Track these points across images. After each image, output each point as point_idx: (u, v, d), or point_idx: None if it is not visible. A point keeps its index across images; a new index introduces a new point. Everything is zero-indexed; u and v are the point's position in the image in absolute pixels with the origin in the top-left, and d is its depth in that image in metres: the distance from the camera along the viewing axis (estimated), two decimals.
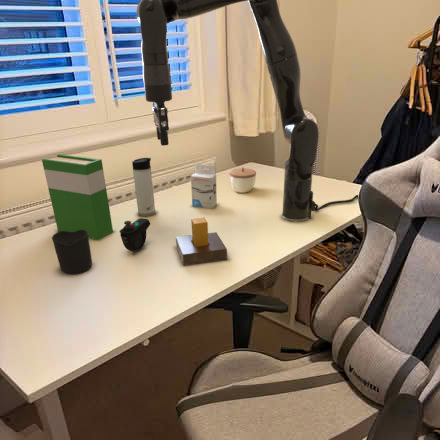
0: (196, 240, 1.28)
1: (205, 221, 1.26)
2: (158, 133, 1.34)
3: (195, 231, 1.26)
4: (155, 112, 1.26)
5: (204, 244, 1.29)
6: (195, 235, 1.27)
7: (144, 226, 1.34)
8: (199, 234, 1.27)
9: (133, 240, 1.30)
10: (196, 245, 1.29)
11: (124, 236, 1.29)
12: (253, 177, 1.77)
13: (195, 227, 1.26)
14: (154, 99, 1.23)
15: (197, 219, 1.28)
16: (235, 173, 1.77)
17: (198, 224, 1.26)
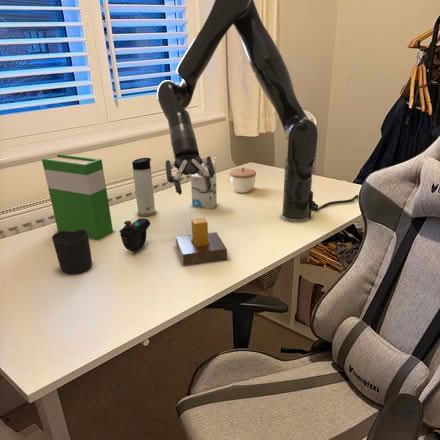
0: (196, 240, 1.28)
1: (205, 221, 1.26)
2: (205, 185, 1.33)
3: (195, 231, 1.26)
4: None
5: (204, 244, 1.29)
6: (195, 235, 1.27)
7: (144, 226, 1.34)
8: (199, 234, 1.27)
9: (133, 240, 1.30)
10: (196, 245, 1.29)
11: (124, 236, 1.29)
12: (253, 177, 1.77)
13: (195, 227, 1.26)
14: None
15: (197, 219, 1.28)
16: (235, 173, 1.77)
17: (198, 224, 1.26)
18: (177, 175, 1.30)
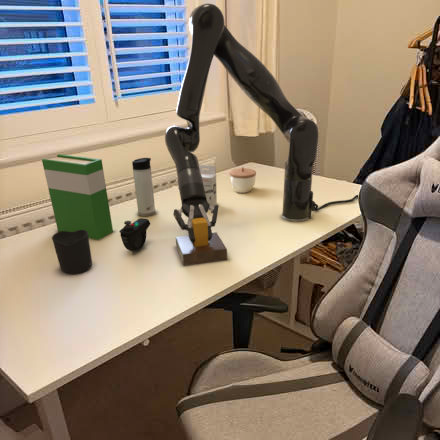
0: (196, 240, 1.28)
1: (205, 221, 1.26)
2: None
3: (195, 231, 1.26)
4: None
5: (204, 244, 1.29)
6: (195, 235, 1.27)
7: (144, 226, 1.34)
8: (199, 234, 1.27)
9: (133, 240, 1.30)
10: (196, 245, 1.29)
11: (124, 236, 1.29)
12: (253, 177, 1.77)
13: (195, 227, 1.26)
14: None
15: (197, 219, 1.28)
16: (235, 173, 1.77)
17: (198, 224, 1.26)
18: (191, 223, 1.28)
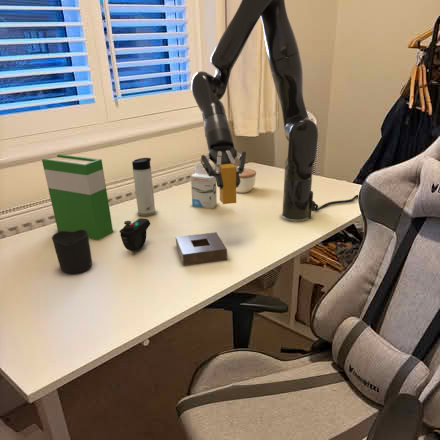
0: (224, 186, 1.26)
1: (233, 166, 1.25)
2: None
3: (223, 176, 1.25)
4: None
5: (232, 190, 1.28)
6: (223, 180, 1.26)
7: (144, 226, 1.34)
8: (227, 180, 1.26)
9: (133, 240, 1.30)
10: (224, 191, 1.27)
11: (124, 236, 1.29)
12: (253, 177, 1.77)
13: (223, 172, 1.24)
14: None
15: (225, 165, 1.26)
16: None
17: (226, 169, 1.24)
18: (219, 169, 1.27)
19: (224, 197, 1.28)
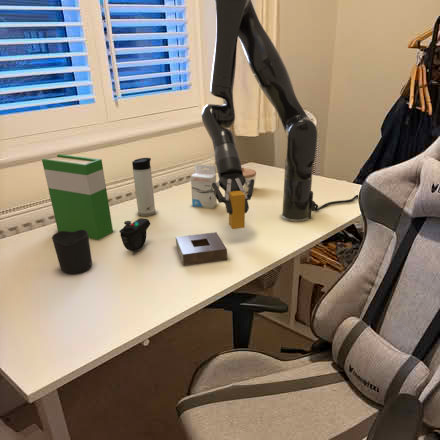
0: (233, 212, 1.33)
1: (242, 194, 1.31)
2: None
3: (233, 203, 1.31)
4: None
5: (241, 216, 1.34)
6: (233, 207, 1.32)
7: (144, 226, 1.34)
8: (236, 206, 1.32)
9: (133, 240, 1.30)
10: (233, 217, 1.34)
11: (124, 236, 1.29)
12: (253, 177, 1.77)
13: (233, 199, 1.31)
14: None
15: (234, 192, 1.33)
16: None
17: (236, 196, 1.31)
18: (228, 196, 1.33)
19: (233, 222, 1.35)
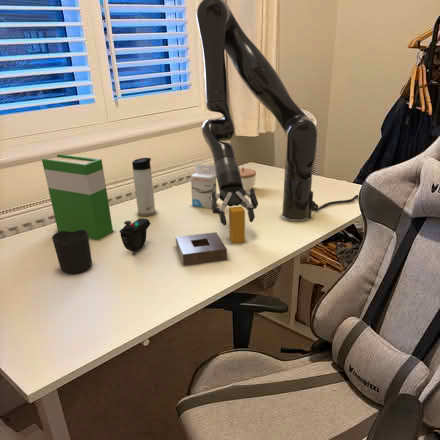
0: (233, 228, 1.35)
1: (242, 210, 1.34)
2: (249, 216, 1.38)
3: (233, 219, 1.34)
4: None
5: (241, 231, 1.37)
6: (233, 223, 1.34)
7: (144, 226, 1.34)
8: (236, 222, 1.35)
9: (133, 240, 1.30)
10: (233, 232, 1.36)
11: (124, 236, 1.29)
12: (253, 177, 1.77)
13: (233, 215, 1.33)
14: None
15: (234, 208, 1.35)
16: None
17: (236, 212, 1.33)
18: (222, 207, 1.35)
19: (233, 237, 1.37)
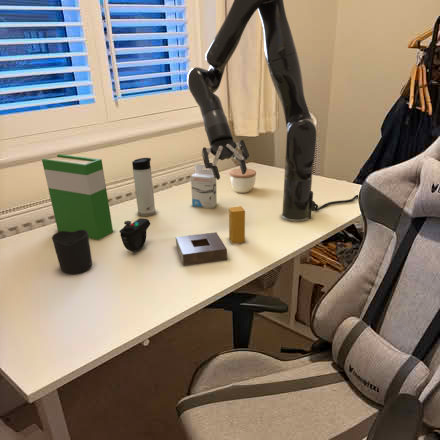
0: (233, 228, 1.35)
1: (242, 210, 1.34)
2: (241, 168, 1.40)
3: (233, 219, 1.34)
4: None
5: (241, 231, 1.37)
6: (233, 223, 1.34)
7: (144, 226, 1.34)
8: (236, 222, 1.35)
9: (133, 240, 1.30)
10: (233, 232, 1.36)
11: (124, 236, 1.29)
12: (253, 177, 1.77)
13: (233, 215, 1.33)
14: None
15: (234, 208, 1.35)
16: (235, 173, 1.77)
17: (236, 212, 1.33)
18: (214, 161, 1.37)
19: (233, 237, 1.37)
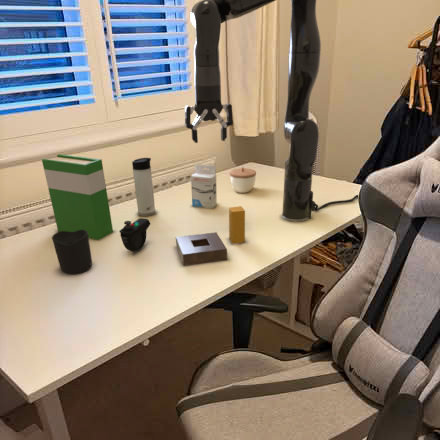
0: (233, 228, 1.35)
1: (242, 210, 1.34)
2: (221, 133, 1.36)
3: (233, 219, 1.34)
4: None
5: (241, 231, 1.37)
6: (233, 223, 1.34)
7: (144, 226, 1.34)
8: (236, 222, 1.35)
9: (133, 240, 1.30)
10: (233, 232, 1.36)
11: (124, 236, 1.29)
12: (253, 177, 1.77)
13: (233, 215, 1.33)
14: None
15: (234, 208, 1.35)
16: (235, 173, 1.77)
17: (236, 212, 1.33)
18: (195, 125, 1.31)
19: (233, 237, 1.37)
